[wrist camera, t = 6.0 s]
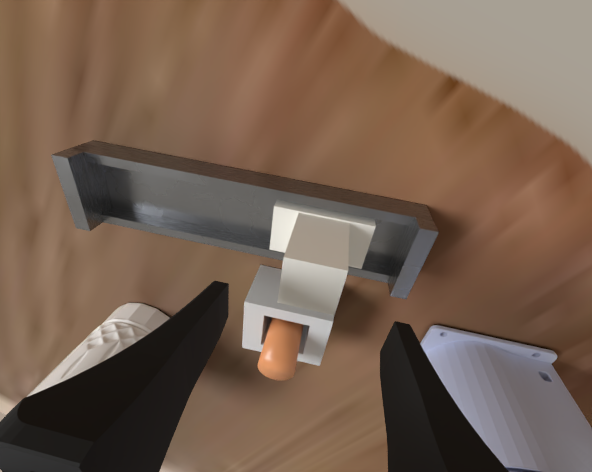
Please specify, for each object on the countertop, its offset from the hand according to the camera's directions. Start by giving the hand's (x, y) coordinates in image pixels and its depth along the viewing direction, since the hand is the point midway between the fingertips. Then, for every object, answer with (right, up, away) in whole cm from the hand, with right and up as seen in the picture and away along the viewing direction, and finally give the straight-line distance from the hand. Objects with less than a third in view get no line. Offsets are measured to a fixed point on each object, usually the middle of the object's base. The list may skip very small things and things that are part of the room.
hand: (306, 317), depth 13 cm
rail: (-4, +6, +7) cm, 10 cm away
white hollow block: (-1, -1, +11) cm, 11 cm away
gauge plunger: (-1, -3, +9) cm, 10 cm away
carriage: (+1, +4, +6) cm, 7 cm away
